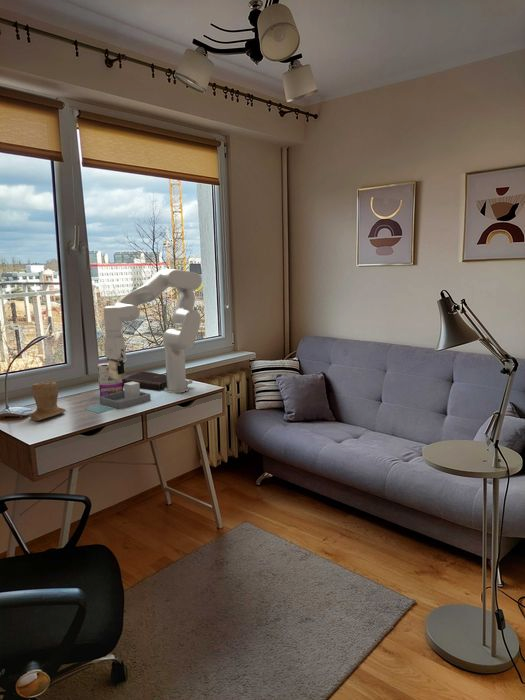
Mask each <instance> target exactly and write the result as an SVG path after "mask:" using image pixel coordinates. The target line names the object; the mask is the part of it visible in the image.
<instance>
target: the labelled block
mask: <svg viewBox="0 0 525 700" xmlns="http://www.w3.org/2000/svg"><path fill="white" fill-rule="evenodd" d="M120 362H121V360H120ZM107 363H109V375H110V378H113V379H120V378H125V377H127V376H126V368H125V367H126V364H125V365H124V372H125V373H124V374H120V375H119V374H118V369H117V366H118V363H117V360H114V359H113V360H109V361H108V360H107Z"/></svg>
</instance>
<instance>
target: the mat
mask: <svg viewBox="0 0 525 700" xmlns="http://www.w3.org/2000/svg"><path fill="white" fill-rule="evenodd" d="M84 410H86V411H89V412H93V413H95V414H97V415H98V414H102V413H105V412H108V411H112V410H114V408H113V407H110V406H107V405H103V404H98V405H95V406H91V407H88V408H84Z"/></svg>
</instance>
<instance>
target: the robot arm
mask: <svg viewBox="0 0 525 700" xmlns="http://www.w3.org/2000/svg"><path fill="white" fill-rule="evenodd" d="M202 281H203V280H202V277H201V275H200V274H199V273H197V272H195V271H188V270H181V269H175V268H161V269H160V270H158V271H157V272H156V273H155V274H154V275H152V277H150V278H149V280H147V281H146V282H145V283H144V284H143V285H141V286H140V287H137V288H136V289H134V290H132V291H131V292H128V293H127V294H126V295H124V296H123V297H122V298H121V299H120V300H118V301H117V302H116V303H115V304H114V305H107V306H104V307H103V322H104V323H103V324H104V332H105V336H104V346H103V348H104V349H103V350H104V357H105V358H106V359H107V362H108V361H109V360H113V359H114V360H117V363H118V366H117V369H118V374H119V375H120V374H124V373H125V374H126V371H125V372H124V365H125V366H126V364H125V363H126V361H127V360H128V357H127V355H126V354H127V351H126V344H125V343H126V342H125V339H124V332H123V330H124V329H123V322H124V321H125V322H133V321H136V320H137V319H138V318H139V317H140V315H141V312H140V308H139V307H138V306H140V305H142V304H145V303H147V304H148V303H150V302H152V301H155V300H156V299H157V298H159V296H160V295H161V294H163V292H165V291H166V290H167V289H168V288H175V289H176V292H177V300H176V302H175V303H176V304H175V307H174V309H173V310H174V311H173V313H172V316H171V323H172V324H173V325H174V326H176V327H178V328H176V327H175V328H168V329H167V330H165V331H164V333H163V335H162V342H163V343H162V344H163V348H164V354H165V371H166V372H165V375H166V378H167V387H165V388H164V389H163V391H164V392H165V393H169V394H170V393H172V394H182V392H183V393H185V391H186V392H188V391H189V390H190V387H189V386H188V385H190V384H191V385H192V384H193V382H194V381H193V380H192V379H188V380H187V379H186V354H185V351H186V350H187V351H188V350H190V349H191V348H192V347H194V346H193V345H194V344H195V342H196V339H197V336H198V333H199V329H200V326H201V321H202V318H201V314H200V313H199V311H198V310H196V309H194V305H195V301H196V298H195V293H194V290H197V289H199V288H200V287H201V285H202ZM179 327H180V328H179ZM184 350H185V351H184ZM120 360H121V362H120Z"/></svg>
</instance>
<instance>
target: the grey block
mask: <svg viewBox="0 0 525 700" xmlns="http://www.w3.org/2000/svg"><path fill="white" fill-rule="evenodd" d="M123 391H124V393H125V400H128V399H132V398H136V397H139V396H140V391H141V388H140V386H139V383H137V382H133V381H132V382H128V383H124V387H123Z"/></svg>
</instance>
